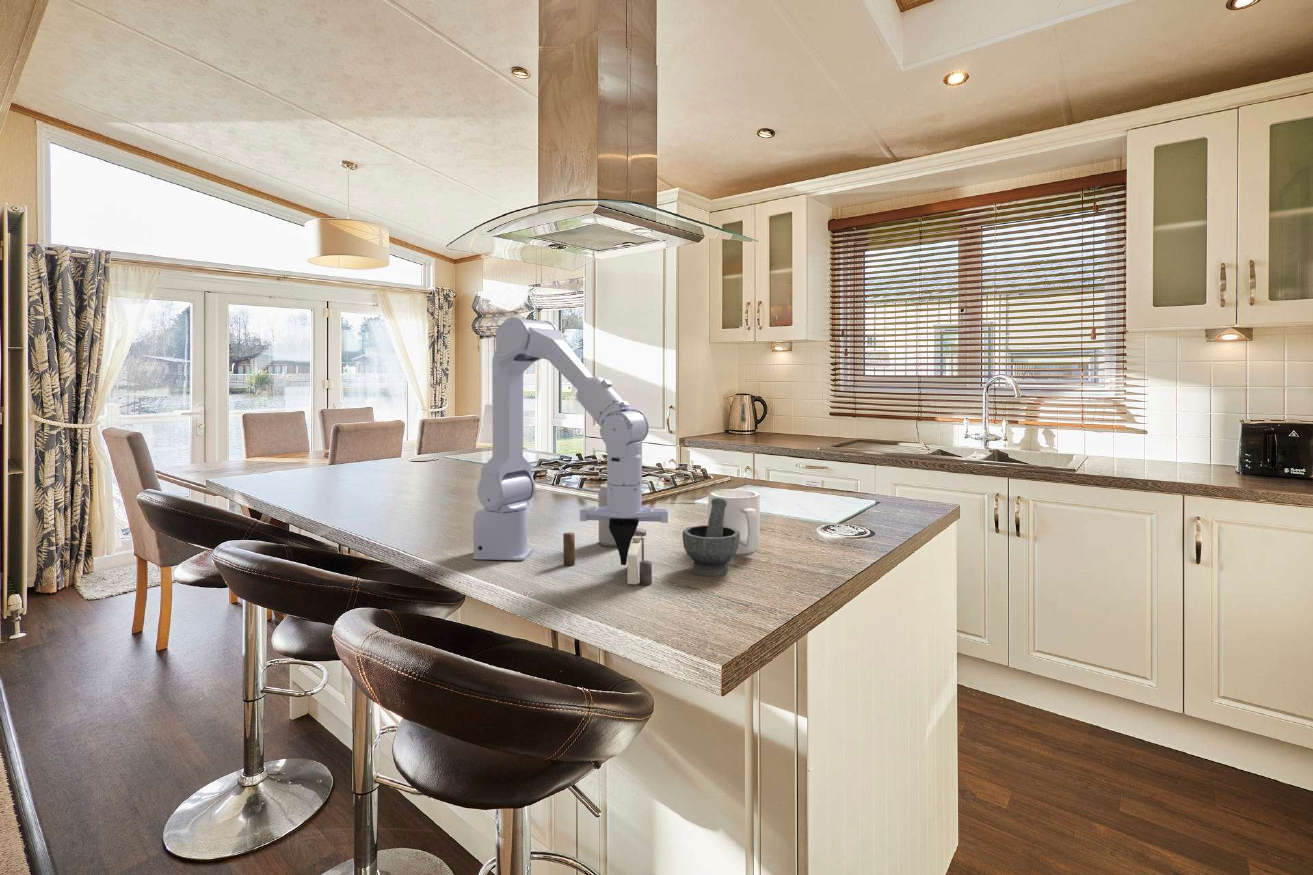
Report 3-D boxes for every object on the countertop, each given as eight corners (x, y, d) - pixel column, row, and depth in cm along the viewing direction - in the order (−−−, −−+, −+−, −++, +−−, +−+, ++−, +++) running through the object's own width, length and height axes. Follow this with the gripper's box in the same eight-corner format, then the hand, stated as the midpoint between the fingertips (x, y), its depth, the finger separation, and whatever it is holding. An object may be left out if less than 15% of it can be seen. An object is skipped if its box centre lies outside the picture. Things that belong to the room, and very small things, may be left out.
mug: (778, 555, 120) (780, 499, 119) (731, 560, 116) (732, 503, 115) (742, 538, 133) (743, 487, 132) (698, 542, 129) (699, 491, 128)
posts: (550, 582, 103) (550, 549, 103) (564, 562, 115) (564, 532, 114) (651, 585, 102) (651, 552, 102) (655, 564, 114) (655, 534, 113)
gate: (631, 561, 114) (631, 528, 114) (646, 561, 114) (646, 528, 114) (623, 583, 102) (623, 546, 102) (640, 584, 102) (640, 547, 101)
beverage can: (626, 548, 124) (626, 488, 123) (594, 546, 125) (594, 486, 124) (633, 540, 130) (633, 482, 129) (603, 538, 132) (603, 481, 130)
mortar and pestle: (729, 581, 104) (731, 510, 103) (675, 575, 108) (676, 505, 107) (745, 563, 115) (746, 497, 114) (695, 557, 118) (696, 494, 117)
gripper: (669, 480, 109) (668, 557, 110) (585, 478, 109) (585, 555, 111) (667, 487, 102) (666, 569, 103) (577, 485, 102) (577, 567, 104)
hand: (624, 563), depth 106 cm, fingers closed
